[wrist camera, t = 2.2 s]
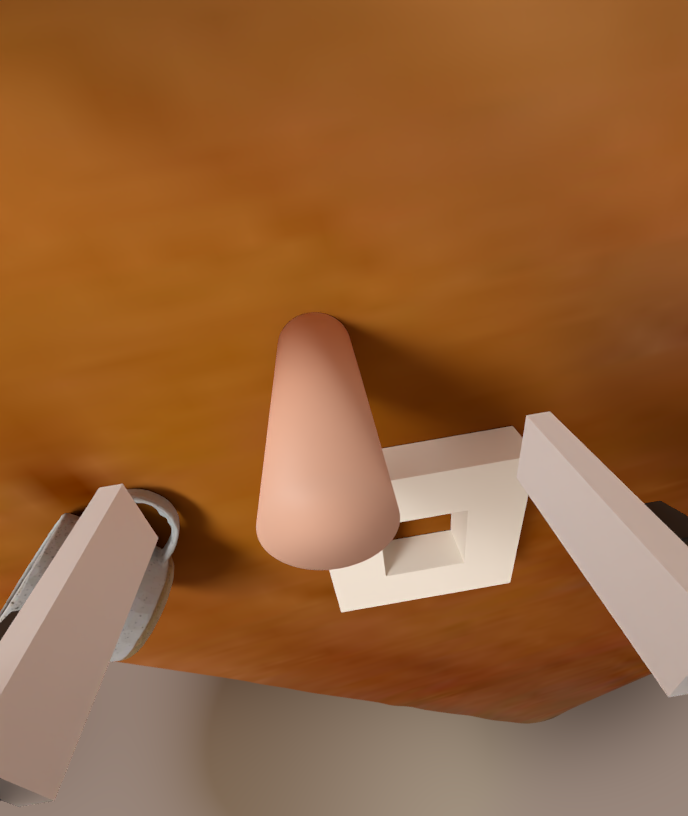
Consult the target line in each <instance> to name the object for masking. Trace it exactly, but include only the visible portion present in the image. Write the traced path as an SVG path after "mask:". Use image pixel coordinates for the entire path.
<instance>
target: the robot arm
mask: <svg viewBox="0 0 688 816" xmlns="http://www.w3.org/2000/svg"><path fill="white" fill-rule="evenodd" d="M516 478H517V479H518V481H519V482H520V483H521V485H522V486H523V488H524V489H525V491H526V492H527V494H528V495H529V496H530V498H531V499H532V501H533V502H534V504H535V505H536V507H537V508H538V509H539V511H540V512H541V514H542V515H543V517H544V518H545V520H546V521H547V523H548V524H549V525H550V527H551V528H552V530H553V531H554V533H555V534H556V536H557V537H558V538H559V540H560V541H561V543H562V544H563V546H564V547H565V549H566V550H567V551H568V553H569V554H570V556H571V557H572V559H573V560H574V562H575V563H576V564H577V566H578V567H579V569H580V570H581V572H582V573H583V575H584V576H585V577H586V579H587V580H588V582H589V583H590V585H591V586H592V588H593V589H594V590H595V592H596V593H597V595H598V596H599V598H600V599H601V601H602V602H603V603H604V605H605V606H606V608H607V609H608V611H609V612H610V614H611V615H612V616H613V618H614V619H615V621H616V622H617V624H618V625H619V627H620V628H621V629H622V631H623V632H624V634H625V635H626V637H627V638H628V640H629V641H630V642H631V644H632V645H633V647H634V648H635V650H636V651H637V653H638V654H639V655H640V657H641V658H642V660H643V661H644V663H645V664H646V666H647V667H648V668H649V670H650V671H651V673H652V674H653V676H654V677H655V679H656V680H657V681H658V683H659V684H660V685H661V687H662V689H663V690H664V692H665V693H666V694H667V696H668V697H672V696H679V695H685V694H688V517H687V516H686V515H685V514H683V513H681V512H679V511H678V510H676V509H674V508H672V507H671V506H669V505H667V504H665V503H663V502H662V501H656V502H650V503H643V502H642V501H641V500H640V499H639V498H638V497H637V496H636V495H635V494H634V493H633V492H632V491H631V490H630V489H629V488H628V487H627V486H626V485H625V484H623V483H622V482H621V481H620V480H619V479H618V478H617V477H616V476H615V475H614V474H613V473H612V472H611V471H610V470H609V469H608V468H607V467H606V466H605V465H604V464H603V463H602V462H601V461H600V460H599V459H598V458H597V457H596V456H595V455H594V454H593V453H592V452H591V451H590V450H589V449H588V448H587V447H586V446H585V445H584V444H583V443H582V442H581V441H580V440H579V439H578V438H577V437H576V436H574V435H573V434H572V433H571V432H570V431H569V430H568V429H567V428H566V427H565V426H564V425H563V424H562V423H561V422H560V421H559V420H558V419H557V418H556V417H555V416H554V415H553V414H552V413H551V412H550V411H549V412H544V413H538V414H532V415H526V421H525V427H524V433H523V439H522V446H521V452H520V458H519V464H518V471H517V477H516ZM157 541H158V537H157V535H156V534H155V532H154V531H153V529H152V527H151V526H150V524H149V523H148V521H147V520H146V518H145V517H144V515H143V514H142V512H141V511H140V509H139V508H138V506H137V505H136V503H135V502H134V500H133V499H132V497H131V496H130V494H129V493H128V491H127V489H126V488H125V486H124V485H123V484H118V485H113V486H107V487H101V488H99V489H98V490H97V492H96V494H95V495H94V497H93V498H92V500H91V501H90V503H89V504H88V506H87V507H86V509H85V511H84V512H83V514H82V515H81V517H80V518H79V520H78V521H77V523H76V524H75V526H74V528H73V529H72V531H71V532H70V534H69V535H68V537H67V538H66V540H65V542H64V543H63V545H62V546H61V548H60V549H59V551H58V552H57V554H56V555H55V557H54V559H53V560H52V562H51V563H50V565H49V566H48V568H47V569H46V571H45V572H44V574H43V576H42V577H41V579H40V580H39V582H38V583H37V585H36V586H35V588H34V590H33V591H32V593H31V594H30V596H29V597H28V599H27V600H26V602H25V603H24V605H23V607H22V608H21V610H18V611H12V612H10V613H9V614H8V615H7V616H6V617H5V618H4V619H3V620H2V621H1V622H0V800H1V801H4V802H7V803H9V804H12V805H15V806H18V807H21V806H27V805H33V804H39V803H45V802H51V801H55V798H56V796H57V793H58V791H59V788H60V786H61V783H62V780H63V778H64V775H65V773H66V770H67V768H68V765H69V763H70V760H71V758H72V755H73V753H74V750H75V748H76V745H77V743H78V740H79V737H80V735H81V732H82V730H83V727H84V725H85V722H86V720H87V717H88V715H89V712H90V710H91V707H92V705H93V702H94V700H95V697H96V694H97V692H98V689H99V687H100V685H101V682H102V679H103V677H104V674H105V672H106V669H107V667H108V664H109V662H110V659H111V657H112V654H113V652H114V649H115V647H116V644H117V642H118V639H119V637H120V634H121V631H122V629H123V626H124V624H125V621H126V619H127V616H128V614H129V611H130V609H131V606H132V604H133V601H134V599H135V596H136V594H137V591H138V589H139V586H140V584H141V581H142V578H143V576H144V573H145V571H146V568H147V566H148V563H149V561H150V558H151V556H152V553H153V551H154V548H155V546H156V543H157Z"/></svg>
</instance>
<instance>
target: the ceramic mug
mask: <svg viewBox="0 0 688 816" xmlns="http://www.w3.org/2000/svg"><path fill="white" fill-rule="evenodd" d="M127 491H128V493H129V494H130V496H131V497H132V499H133V500H134V502H135V503H145V504H148V505H150V506H153V507H154V508H155V509H157V511H158V512H159V514H160V515H161V516H163V517H165V518H167V521H168V523H169V524H170V525H171V529H172V531H171V535H170V537H169V539H168V542H167V543H166V545H165V546H164V548H163V549H161V548H159V547H157V546H155V548H154V551H153V553H152V556H151V558H150V561H149V563H148V566H147V568H146V571H145V573H144V576H143V578H142V581H141V584H140V586H139V589H138V591H137V594H136V596H135V599H134V601H133V604H132V606H131V609H130V611H129V614H128V616H127V619H126V621H125V624H124V626H123V629H122V631H121V634H120V637H119V639H118V642H117V644H116V647H115V649H114V652H113V654H112V657H111V659H110V662H111V661H122V660H124V659H127V658H129V657H131V656H132V655H134V654H135V653H136V652H138V650H139V649H140V648H141V647H142V646H143V645H144V643H145V642H146V640H147V639H148V637H149V636H150V634H151V633H152V631H153V629H154V627H155V626H156V624H157V622H158V620H159V618H160V616H161V614H162V611H163V609H164V607H165V604H166V602H167V599H168V596H169V592H170V589H171V586H172V582H173V577H174V562H173V559H172V557H171V554H172V553H173V552H174V549H175V546H176V544H177V540H178V536H179V528H180V527H179V516H178V514H177V511H176V509H175V508H174V506H173V505H172V504H171V503H170V502H169V501H168V500H167V499H166V498H164V497H162V496H160V495H159V494H156V493H154V492H151V491H148V490H144V489H127ZM79 518H80V517H79V516H76V515H73V514H70V513H65V514H63V515H62V516H61V518H60V519H59V520H58V521H57V523H56V524H55V526H54V527H53V529H52V530H51V532H50V533H49V534H48V536H47V538H46V539H45V541H44V542H43V544H42V545H41V547H40V549H39V550H38V551H37V553H36V555H35V556H34V558H33V559H32V561H31V562H30V564H29V565H28V567H27V568H26V570H25V572H24V574H23V576H22V577H21V579H20V580H19V582H18V583H17V585H16V587H15V589H14V590H13V591H12V593H11V595H10V597H9V598H8V600H7V602H6V603H5V605H4V607H3V608H2V610H1V612H0V622H1V621H2V620H3V619H4V618H5V617H6V616H7V615H8V614H9V613H10V612H12V611H18V610H21V608H22V607H23V605H24V603H25V602H26V600H27V599H28V597H29V596H30V594H31V593H32V591H33V590H34V588H35V586H36V585H37V583H38V582H39V580H40V579H41V577H42V576H43V574H44V572H45V571H46V569H47V568H48V566H49V565H50V563H51V562H52V560H53V559H54V557H55V555H56V554H57V552H58V551H59V549H60V548H61V546H62V545H63V543H64V542H65V540H66V538H67V537H68V535H69V534H70V532H71V531H72V529H73V528H74V526H75V524H76V523H77V521H78V520H79Z"/></svg>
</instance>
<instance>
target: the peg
mask: <svg viewBox="0 0 688 816" xmlns="http://www.w3.org/2000/svg"><path fill="white" fill-rule="evenodd" d="M399 524H400V512H399V507H398V504H397V500H396V497H395V493H394V490H393V486H392V483H391V479H390V476H389V472H388V469H387V465H386V462H385V458H384V455H383V451H382V448H381V444H380V441H379V437H378V434H377V431H376V427H375V424H374V420H373V417H372V413H371V410H370V406H369V403H368V399H367V396H366V392H365V389H364V385H363V382H362V378H361V375H360V371H359V368H358V364H357V361H356V357H355V354H354V350H353V347H352V343H351V340H350V336H349V334H348V332H347V330H346V328H345V327H344V326H343V324H342V323H341V322H339V321H338V320H337V319H335V318H334V317H332V316H330V315H327V314H324V313H317V312H312V313H305V314H302V315H299V316H297V317H295V318H294V319H292V320H291V321H290V322H288V323H287V324H286V326H285V327H284V328H283V330H282V332H281V334H280V336H279V340H278V348H277V356H276V364H275V373H274V381H273V389H272V398H271V406H270V414H269V423H268V431H267V439H266V448H265V456H264V464H263V473H262V481H261V489H260V498H259V506H258V514H257V523H256V531H257V536H258V539H259V541H260V543H261V545H262V546H263V547H264V549H265V550H266V551H267V552H268V553H269V554H270V555H272V556H273V557H274V558H276V559H277V560H279V561H281V562H283V563H286V564H288V565H291V566H294V567H298V568H303V569H310V570H332V569H340V568H344V567H349V566H352V565H355V564H358V563H361V562H363V561H365V560H367V559H369V558H371V557H373V556H375V555H376V554H378V553H379V552H380V551H382V550H383V549H384V548H385V547H386V546H387V545H388V544H389V543H390V542H391V541H392V539H393V538H394V536H395V535H396V533H397V530H398V528H399Z"/></svg>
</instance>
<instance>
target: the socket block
mask: <svg viewBox="0 0 688 816" xmlns="http://www.w3.org/2000/svg"><path fill="white" fill-rule="evenodd" d="M522 439H523V438H522V437H521V435H520V434H519V433H518V432H517V430H516V429H515V428H514V427H513V426H509V427H503V428H498V429H492V430H486V431H480V432H475V433H469V434H463V435H457V436H451V437H446V438H440V439H434V440H428V441H423V442H417V443H411V444H405V445H400V446H394V447H388V448H382V451H383V455H384V458H385V462H386V465H387V469H388V472H389V476H390V479H391V483H392V486H393V490H394V493H395V497H396V500H397V504H398V507H399V512H400V522H404V521H410V520H416V519H421V518H427V517H433V516H439V515H444V514H450V513H451V530H447V531H442V532H436V533H430V534H425V535H419V536H413V537H407V538H402V539H396V540H392V541H391V542H390V543H389V544H388V545H387V546H386V547H385V548H384V549H383V550H382V551H380V552H379V553H378V554H376V555H375V556H373V557H371V558H369V559H367V560H365V561H363V562H361V563H358V564H355V565H352V566H349V567H344V568H340V569H332V570H329V571H330V574H331V578H332V581H333V585H334V588H335V592H336V595H337V599H338V602H339V606H340V609H341V612H346V611H352V610H357V609H363V608H369V607H375V606H380V605H386V604H392V603H397V602H403V601H409V600H414V599H420V598H426V597H431V596H437V595H443V594H448V593H454V592H460V591H466V590H471V589H477V588H483V587H488V586H494V585H500V584H505V583H510V581H511V576H512V571H513V566H514V561H515V557H516V552H517V547H518V542H519V537H520V533H521V528H522V523H523V518H524V513H525V509H526V504H527V499H528V494H527V492H526V491H525V489H524V488H523V486H522V485H521V483H520V482H519V481H518V479H517V478H516V477H517V471H518V464H519V458H520V452H521V446H522Z"/></svg>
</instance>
